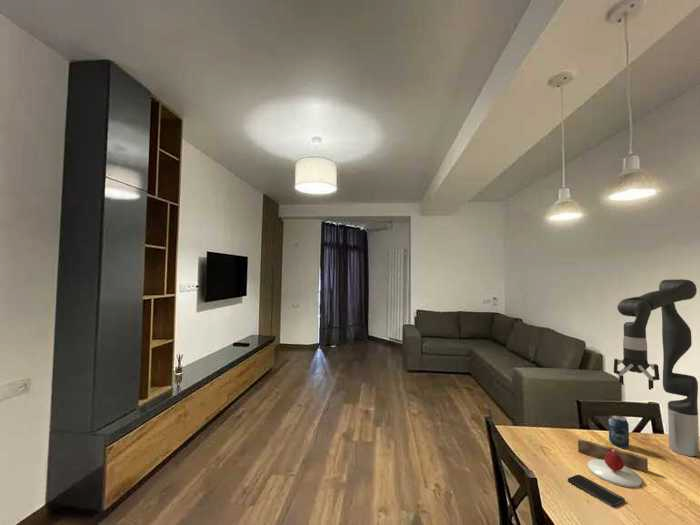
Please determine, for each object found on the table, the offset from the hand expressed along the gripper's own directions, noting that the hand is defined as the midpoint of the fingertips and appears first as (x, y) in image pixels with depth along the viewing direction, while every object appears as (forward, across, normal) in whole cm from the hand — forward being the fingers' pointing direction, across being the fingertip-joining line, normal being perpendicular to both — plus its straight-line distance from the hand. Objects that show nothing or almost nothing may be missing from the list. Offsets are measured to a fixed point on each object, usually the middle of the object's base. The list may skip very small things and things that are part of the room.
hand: (635, 386), depth 133 cm
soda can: (+30, -6, +11) cm, 33 cm away
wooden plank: (+30, -8, -8) cm, 32 cm away
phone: (+31, -13, -36) cm, 49 cm away
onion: (+29, -8, -18) cm, 35 cm away
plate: (+30, -8, -18) cm, 36 cm away
